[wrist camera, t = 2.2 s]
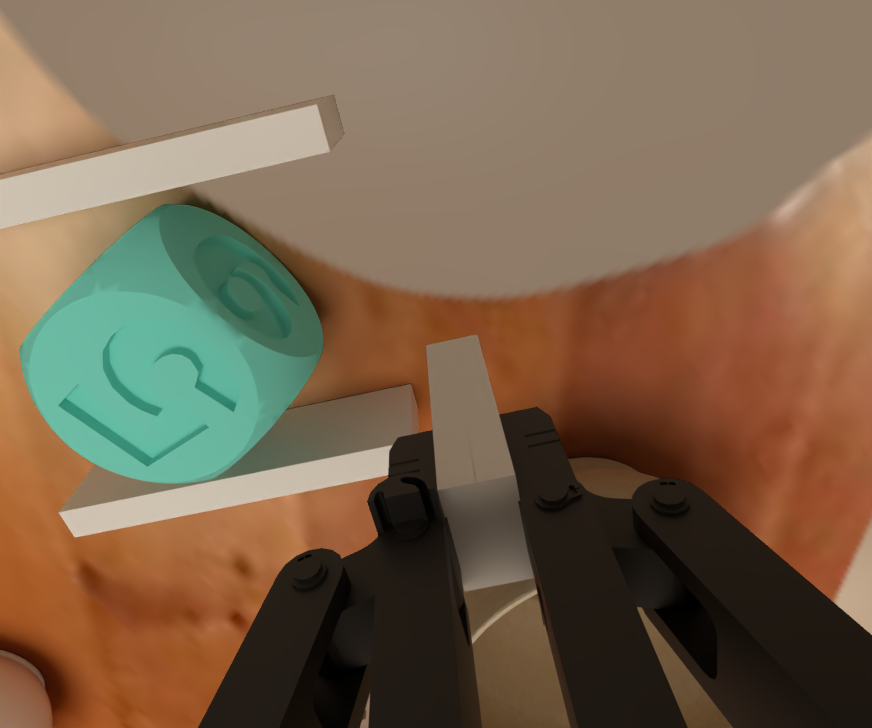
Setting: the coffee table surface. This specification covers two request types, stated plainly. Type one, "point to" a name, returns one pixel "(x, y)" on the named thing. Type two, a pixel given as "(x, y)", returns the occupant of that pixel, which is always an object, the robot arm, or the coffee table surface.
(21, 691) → the lidded jar
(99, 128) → the coffee table surface
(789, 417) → the coffee table surface
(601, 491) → the planter bowl
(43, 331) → the decorative dice
